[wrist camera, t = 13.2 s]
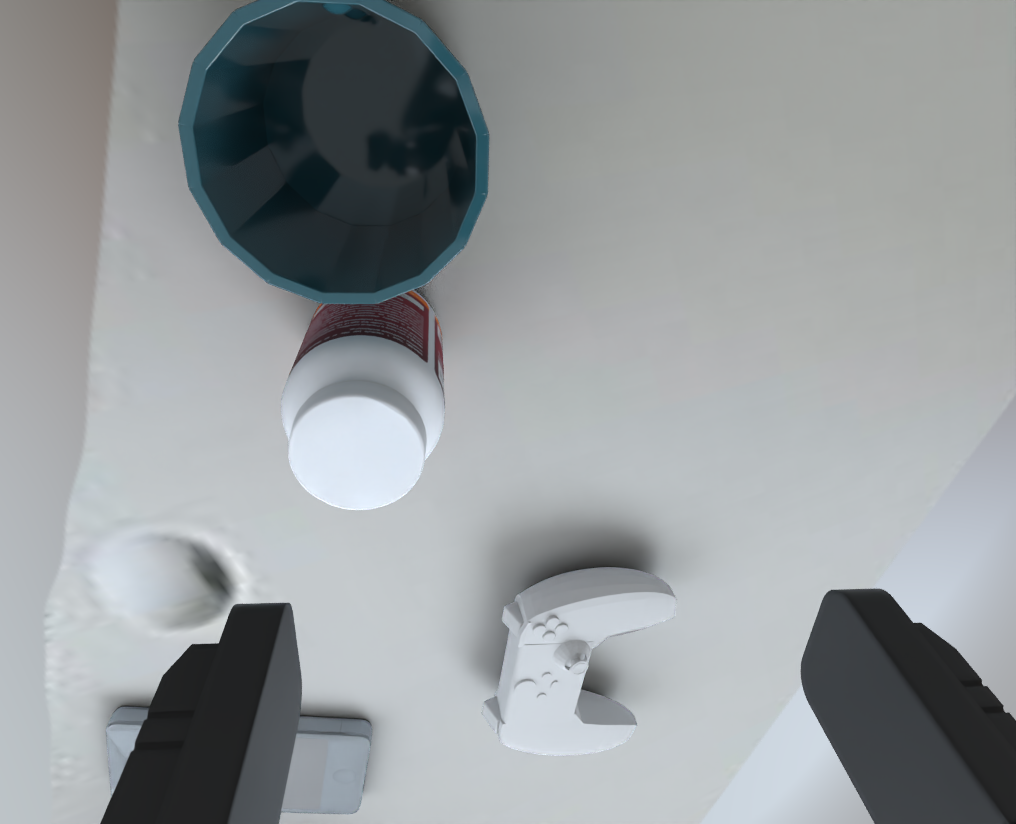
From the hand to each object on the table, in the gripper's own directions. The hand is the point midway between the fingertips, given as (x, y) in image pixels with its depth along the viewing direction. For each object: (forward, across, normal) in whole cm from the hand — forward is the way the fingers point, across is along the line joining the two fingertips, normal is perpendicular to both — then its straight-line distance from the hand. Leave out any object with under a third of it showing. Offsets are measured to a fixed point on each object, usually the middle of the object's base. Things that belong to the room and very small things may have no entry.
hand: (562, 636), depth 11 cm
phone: (+24, +15, +35) cm, 45 cm away
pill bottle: (+24, +5, +5) cm, 25 cm away
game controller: (+24, -6, +26) cm, 36 cm away
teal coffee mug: (+24, +5, -6) cm, 26 cm away
